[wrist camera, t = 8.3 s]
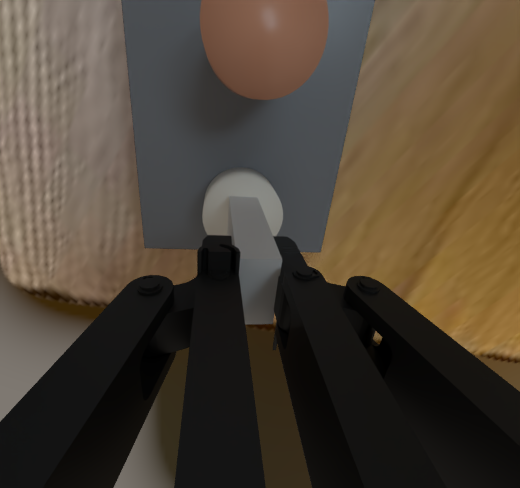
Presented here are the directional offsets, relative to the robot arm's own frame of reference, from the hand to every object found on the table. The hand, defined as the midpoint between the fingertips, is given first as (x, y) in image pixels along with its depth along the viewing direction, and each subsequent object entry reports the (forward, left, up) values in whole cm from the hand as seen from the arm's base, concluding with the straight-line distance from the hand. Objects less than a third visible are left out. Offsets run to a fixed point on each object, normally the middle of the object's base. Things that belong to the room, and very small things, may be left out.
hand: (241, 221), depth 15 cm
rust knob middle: (0, -8, -5) cm, 10 cm away
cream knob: (0, 0, -8) cm, 8 cm away
